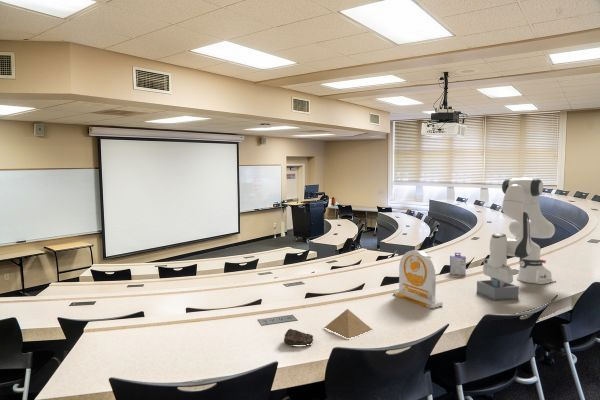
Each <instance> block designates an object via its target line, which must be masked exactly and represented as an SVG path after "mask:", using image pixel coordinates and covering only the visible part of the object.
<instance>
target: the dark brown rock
mask: <svg viewBox="0 0 600 400" xmlns="http://www.w3.org/2000/svg"><path fill="white" fill-rule="evenodd" d="M313 339H314V336H313V335H312V334H310V333H305V332H302V331H299V330H297V329H292V328H289V329H288V330H287V331H286V332H285V334H284V338H283V342H284V343H285V345H289V346H290V345H307V344H311V343H312V344H313V342H314V340H313ZM312 341H313V342H312ZM307 346H308V345H307Z"/></svg>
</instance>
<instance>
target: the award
mask: <svg viewBox="0 0 600 400" xmlns="http://www.w3.org/2000/svg"><path fill="white" fill-rule="evenodd" d="M398 269H399V271H398V272H399V273H398V276H399V279H398V290H393V294H395V295H397V296H399V297H398V298H400V297H401V298H400V299H403V298H404V299H403V300H405V299H407V300H406V301H408V300H410V301H409V302H411V301H412V303H414V302H415V303H414V304H416V303H417V305H419V304H420V306H422V305H423V306H422V307H424V308H427V307H428V309H430V308H433V309H436V308H435V307H437V308H440V307H439V306H442V307H443V303H444V302H443V301H440V300H438V299H436V286H437V285H436V278H437V277H436V274H437V273H436V269H435V266H434V263H433V262H432V260H431V258H430V257H429V256H428V255H427V254H426V253H425V252H424V251H421V250H418V249H412V250H409V251H407V252H405V253H404V254H403V255H402V257H401V258H400V261H399V267H398ZM395 295H394V296H395ZM397 296H396V297H397Z"/></svg>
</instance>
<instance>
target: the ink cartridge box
mask: <svg viewBox="0 0 600 400" xmlns="http://www.w3.org/2000/svg"><path fill="white" fill-rule="evenodd" d="M466 264H467V257H466V256H465V255H461V252H454V255H449V274H450V275H454V274H458V275H459V276H460V275H461V276H466V275H467V273H466V270H467V265H466ZM458 275H457V276H458Z"/></svg>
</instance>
